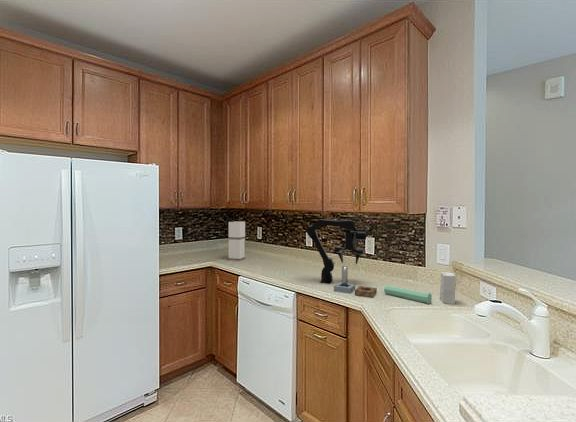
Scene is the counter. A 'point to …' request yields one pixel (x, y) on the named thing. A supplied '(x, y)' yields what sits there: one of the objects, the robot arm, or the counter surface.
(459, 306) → the counter surface
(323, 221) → the robot arm
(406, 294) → the green faceted rod
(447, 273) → the skincare box
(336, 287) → the socket block
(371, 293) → the brown square frame
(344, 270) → the axle
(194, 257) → the counter surface
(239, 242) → the white square tower
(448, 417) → the counter surface
